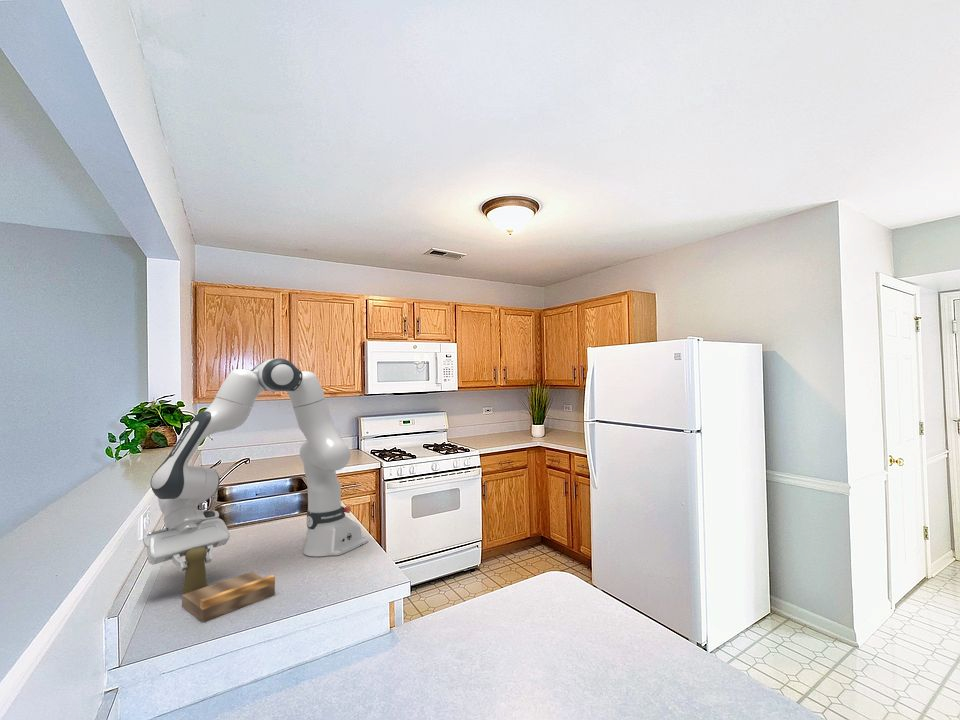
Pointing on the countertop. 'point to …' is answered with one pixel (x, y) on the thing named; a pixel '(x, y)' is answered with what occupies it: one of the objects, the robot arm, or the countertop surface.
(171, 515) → the robot arm
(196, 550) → the cork
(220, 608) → the dock
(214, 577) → the countertop surface
